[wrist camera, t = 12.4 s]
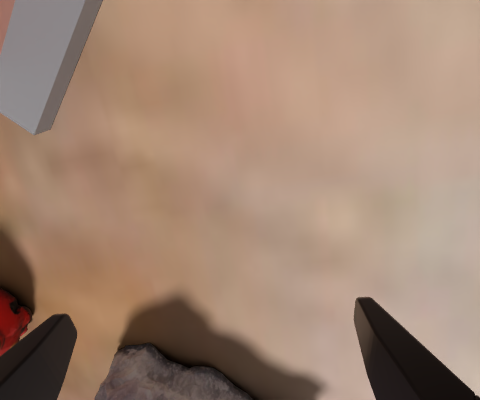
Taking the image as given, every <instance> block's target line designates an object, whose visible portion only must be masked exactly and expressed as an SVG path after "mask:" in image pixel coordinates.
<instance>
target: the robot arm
mask: <svg viewBox="0 0 480 400" xmlns="http://www.w3.org/2000/svg"><path fill="white" fill-rule="evenodd" d="M354 323H355V328H356V332H357V336H358V340H359V344H360V348H361V352H362V356H363V360H364V364H365V368H366V372H367V375H368V378H369V381H370V384H371V387H372V390H373V393H374V395H375V398H376V400H480V397H479V396H477V395H476V396H475V393H474V392H473V391H472V390H471V389H470V388H469V387H468V386H467V385H465V384H464V383H463V382H462V381H461V380H460V379H459V378H458V377H457V376H456V375H455V374H454V373H452V372H451V371H450V370H449V369H448V368H447V367H446V366H445V365H444V364H443V363H442V362H441V361H439V360H438V359H437V358H436V357H435V356H434V355H433V354H432V353H431V352H430V351H429V350H428V349H426V348H425V347H424V346H423V345H422V344H421V343H420V342H419V341H418V340H417V339H416V338H415V337H413V336H412V335H411V334H410V333H409V332H408V331H407V330H406V329H405V328H404V327H403V326H402V325H400V324H399V323H398V322H397V321H396V320H395V319H394V318H393V317H392V316H391V315H390V314H388V313H387V312H386V311H385V310H384V309H383V308H382V307H381V306H380V305H379V304H378V303H377V302H375V301H374V300H373V299H372V298H370V297H359V298H357V299H356V301H355V310H354ZM76 339H77V330H76V328H75V326H74V324H73V322H72V320H71V318H70V316H69V315H68V314H55V315H52V316H51V317H50V318H48V319H47V320H46V321H44V322H43V323H42V324H41V325H39V326H38V327H37V328H36V329H34V330H33V331H32V332H30V333H29V334H28V335H27V336H25V337H24V338H23V339H21V340H20V341H19V342H18V343H16V344H15V345H14V346H13V347H11V348H10V349H9V350H7V351H6V352H5V353H4V354H2V355H1V356H0V400H57V398H58V395H59V393H60V390H61V387H62V384H63V382H64V379H65V375H66V372H67V369H68V365H69V362H70V359H71V355H72V352H73V349H74V346H75V342H76Z"/></svg>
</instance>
